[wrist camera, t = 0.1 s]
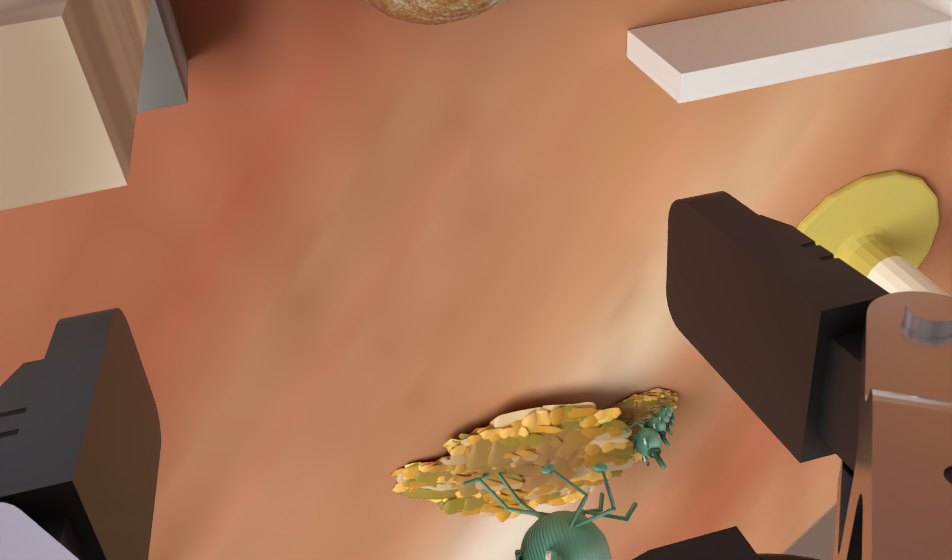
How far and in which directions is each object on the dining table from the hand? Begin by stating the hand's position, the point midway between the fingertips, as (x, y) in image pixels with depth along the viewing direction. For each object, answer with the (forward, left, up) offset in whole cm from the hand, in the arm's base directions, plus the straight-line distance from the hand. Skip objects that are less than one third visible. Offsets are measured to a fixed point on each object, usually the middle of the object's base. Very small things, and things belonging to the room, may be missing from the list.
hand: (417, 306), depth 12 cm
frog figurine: (+22, +23, -23) cm, 39 cm away
